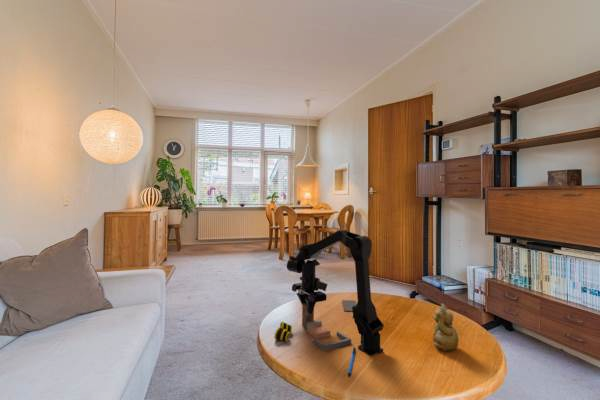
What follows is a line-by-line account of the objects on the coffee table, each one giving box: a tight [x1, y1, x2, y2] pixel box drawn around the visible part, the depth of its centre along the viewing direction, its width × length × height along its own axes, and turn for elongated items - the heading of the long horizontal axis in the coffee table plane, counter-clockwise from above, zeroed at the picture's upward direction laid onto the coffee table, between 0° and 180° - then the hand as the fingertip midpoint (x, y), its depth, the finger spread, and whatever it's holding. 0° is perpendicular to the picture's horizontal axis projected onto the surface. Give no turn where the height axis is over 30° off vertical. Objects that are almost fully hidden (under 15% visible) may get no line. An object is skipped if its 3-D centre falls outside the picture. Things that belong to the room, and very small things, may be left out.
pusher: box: [301, 303, 323, 333], centre depth 125 cm, size 8×6×9 cm
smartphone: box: [341, 299, 357, 313], centre depth 151 cm, size 7×1×15 cm
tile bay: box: [312, 331, 352, 352], centre depth 112 cm, size 8×12×2 cm, turn 120°
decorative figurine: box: [433, 303, 460, 353], centre depth 109 cm, size 10×8×15 cm
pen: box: [347, 346, 357, 378], centre depth 99 cm, size 1×19×1 cm, turn 164°
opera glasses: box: [274, 320, 293, 342], centre depth 116 cm, size 10×5×5 cm, turn 171°
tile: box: [308, 325, 331, 340], centre depth 119 cm, size 6×6×2 cm
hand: (308, 312), depth 127 cm, fingers closed on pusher, 3 cm apart
